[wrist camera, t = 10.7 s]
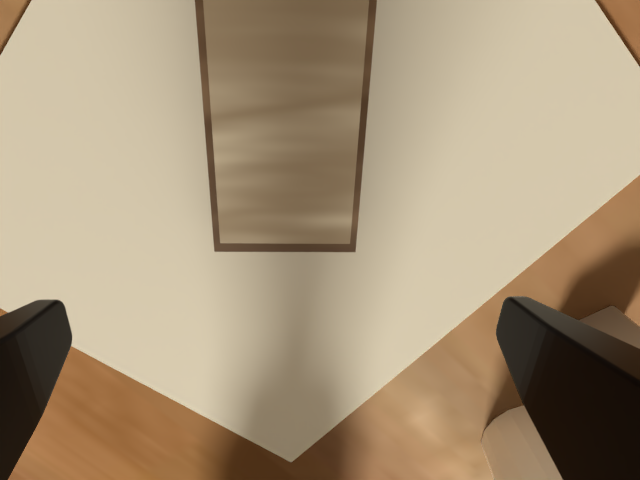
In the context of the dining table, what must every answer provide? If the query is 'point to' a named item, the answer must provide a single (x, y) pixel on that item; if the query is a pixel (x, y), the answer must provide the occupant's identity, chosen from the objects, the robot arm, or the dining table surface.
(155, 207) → the mat
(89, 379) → the dining table surface
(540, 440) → the white cylinder
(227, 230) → the wood grain block
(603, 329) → the lighter
